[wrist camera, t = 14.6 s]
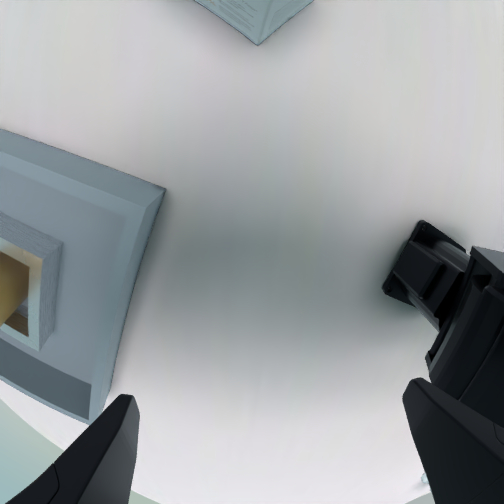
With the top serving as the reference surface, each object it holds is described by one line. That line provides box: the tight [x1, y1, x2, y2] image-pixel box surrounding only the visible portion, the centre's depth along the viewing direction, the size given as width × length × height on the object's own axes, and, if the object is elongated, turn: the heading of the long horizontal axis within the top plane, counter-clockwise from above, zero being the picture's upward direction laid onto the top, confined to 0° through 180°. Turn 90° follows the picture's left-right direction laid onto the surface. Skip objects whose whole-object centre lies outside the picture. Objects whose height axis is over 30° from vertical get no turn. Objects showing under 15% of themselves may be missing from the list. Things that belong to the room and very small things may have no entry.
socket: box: [0, 212, 64, 352], centre depth 17 cm, size 8×8×3 cm
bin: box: [0, 129, 166, 425], centre depth 17 cm, size 20×20×5 cm
